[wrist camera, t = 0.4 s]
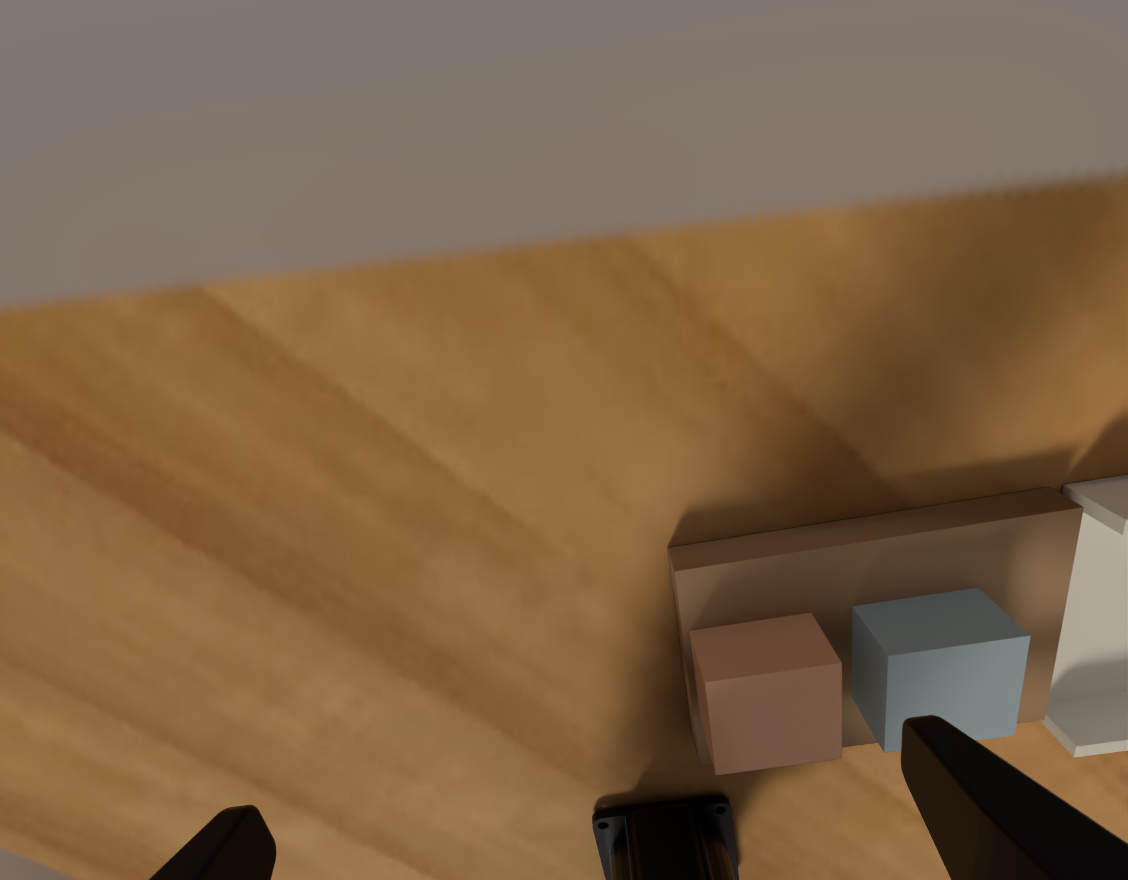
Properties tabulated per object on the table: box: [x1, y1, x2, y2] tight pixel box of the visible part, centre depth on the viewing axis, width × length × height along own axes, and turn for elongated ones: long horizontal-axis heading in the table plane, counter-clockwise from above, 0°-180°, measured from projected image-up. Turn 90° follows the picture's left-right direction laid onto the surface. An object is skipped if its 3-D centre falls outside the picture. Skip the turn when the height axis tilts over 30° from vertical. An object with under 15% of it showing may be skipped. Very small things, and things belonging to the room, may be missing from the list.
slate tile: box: [851, 587, 1031, 753], centre depth 21 cm, size 4×4×2 cm
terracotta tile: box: [689, 613, 842, 775], centre depth 21 cm, size 4×4×2 cm
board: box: [667, 487, 1084, 766], centre depth 23 cm, size 10×14×2 cm
